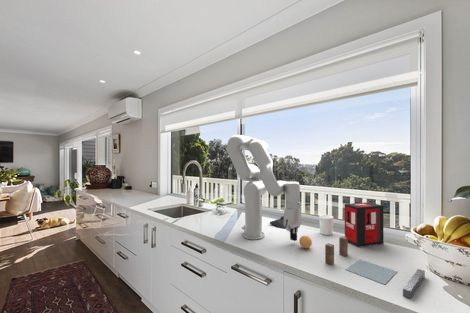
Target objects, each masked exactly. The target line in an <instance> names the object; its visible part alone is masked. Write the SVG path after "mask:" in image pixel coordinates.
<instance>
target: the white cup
mask: <svg viewBox="0 0 470 313" xmlns="http://www.w3.org/2000/svg"><path fill="white" fill-rule="evenodd" d="M318 217H319V220H318V221H319V222H318V223H319V232H320V234H322V235H325V236H332V235H333V230H334V216H333V215H329V214H319V216H318Z"/></svg>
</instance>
